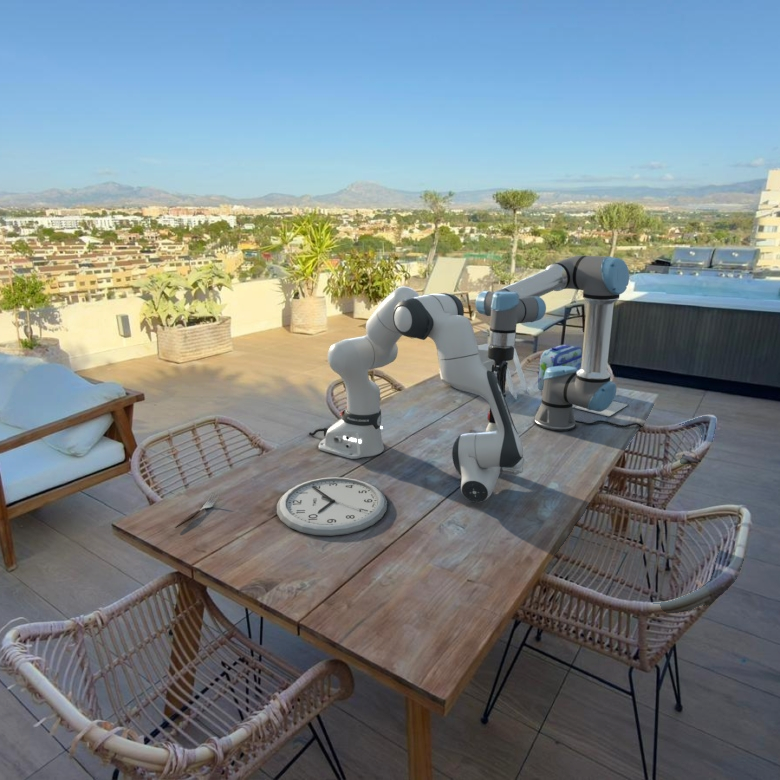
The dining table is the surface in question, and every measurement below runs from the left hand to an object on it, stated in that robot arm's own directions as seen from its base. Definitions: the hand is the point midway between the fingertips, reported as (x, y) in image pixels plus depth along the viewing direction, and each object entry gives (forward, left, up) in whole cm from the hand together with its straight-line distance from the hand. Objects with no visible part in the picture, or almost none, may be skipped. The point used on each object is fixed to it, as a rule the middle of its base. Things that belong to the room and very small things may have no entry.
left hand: (493, 449), depth 164 cm
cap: (0, -1, +12) cm, 12 cm away
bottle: (0, -1, -7) cm, 7 cm away
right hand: (0, -1, +10) cm, 10 cm away
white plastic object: (-19, +79, -7) cm, 82 cm away
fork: (-67, -57, -7) cm, 88 cm away
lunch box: (+15, +98, -7) cm, 100 cm away
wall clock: (-37, -39, -7) cm, 54 cm away
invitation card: (+34, +79, -7) cm, 86 cm away
